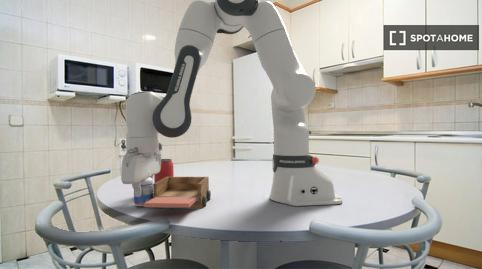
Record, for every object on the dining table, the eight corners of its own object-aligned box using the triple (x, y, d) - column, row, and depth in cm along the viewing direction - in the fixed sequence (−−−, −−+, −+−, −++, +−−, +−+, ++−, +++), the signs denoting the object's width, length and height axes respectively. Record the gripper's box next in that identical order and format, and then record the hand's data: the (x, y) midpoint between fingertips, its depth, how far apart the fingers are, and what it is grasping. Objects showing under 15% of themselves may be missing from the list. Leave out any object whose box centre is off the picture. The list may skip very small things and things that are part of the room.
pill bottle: (135, 202, 84) (134, 170, 84) (154, 200, 85) (153, 169, 85) (132, 207, 79) (131, 173, 78) (152, 205, 80) (151, 172, 80)
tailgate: (198, 196, 79) (190, 203, 69) (198, 200, 79) (190, 207, 69) (155, 195, 79) (142, 202, 70) (155, 200, 79) (142, 207, 70)
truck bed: (211, 197, 91) (211, 176, 91) (204, 208, 79) (204, 184, 79) (164, 197, 92) (164, 176, 92) (150, 208, 80) (150, 183, 80)
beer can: (176, 191, 101) (175, 158, 100) (169, 195, 94) (169, 160, 94) (158, 191, 101) (158, 158, 101) (151, 195, 95) (150, 160, 95)
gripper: (137, 149, 71) (139, 202, 71) (164, 144, 91) (165, 186, 92) (113, 149, 71) (115, 202, 72) (145, 144, 92) (146, 186, 92)
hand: (143, 193), depth 82 cm, fingers closed on pill bottle, 5 cm apart
